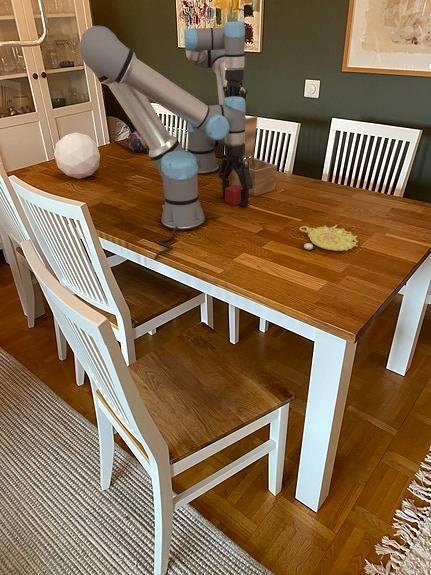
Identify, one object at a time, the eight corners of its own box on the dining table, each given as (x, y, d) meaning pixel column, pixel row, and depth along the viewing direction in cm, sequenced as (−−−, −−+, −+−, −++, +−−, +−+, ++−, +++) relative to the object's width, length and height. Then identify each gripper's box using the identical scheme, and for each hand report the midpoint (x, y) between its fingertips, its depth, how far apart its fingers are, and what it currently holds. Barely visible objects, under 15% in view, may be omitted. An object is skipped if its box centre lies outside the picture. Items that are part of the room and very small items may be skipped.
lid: (257, 117, 175) (245, 110, 180) (235, 121, 170) (223, 114, 175) (253, 156, 185) (241, 149, 190) (231, 161, 180) (220, 154, 185)
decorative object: (343, 255, 128) (285, 234, 139) (342, 262, 130) (284, 241, 140) (372, 230, 142) (317, 213, 152) (371, 237, 143) (316, 219, 153)
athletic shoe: (138, 131, 244) (117, 136, 240) (148, 124, 224) (125, 129, 220) (144, 152, 247) (123, 157, 243) (154, 147, 227) (132, 152, 223)
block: (244, 201, 171) (244, 188, 168) (234, 205, 168) (234, 191, 165) (235, 198, 174) (235, 184, 171) (225, 201, 171) (224, 187, 169)
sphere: (87, 194, 201) (71, 168, 182) (55, 173, 206) (37, 145, 187) (114, 165, 206) (102, 136, 187) (82, 145, 210) (67, 115, 192)
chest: (275, 190, 181) (276, 165, 175) (254, 196, 175) (254, 171, 170) (251, 180, 191) (252, 157, 186) (231, 185, 186) (231, 162, 181)
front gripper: (263, 148, 153) (262, 207, 164) (224, 135, 169) (225, 190, 181) (246, 152, 149) (246, 212, 161) (208, 138, 166) (210, 194, 177)
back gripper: (254, 69, 165) (253, 134, 178) (231, 66, 175) (231, 127, 188) (238, 71, 162) (238, 137, 175) (215, 68, 172) (217, 130, 185)
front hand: (235, 201), depth 171 cm, fingers open, 11 cm apart
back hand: (234, 132), depth 181 cm, fingers closed on lid, 1 cm apart
